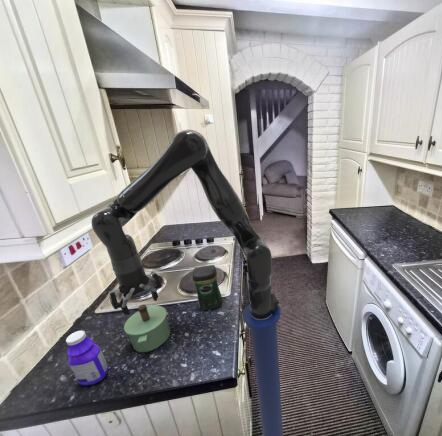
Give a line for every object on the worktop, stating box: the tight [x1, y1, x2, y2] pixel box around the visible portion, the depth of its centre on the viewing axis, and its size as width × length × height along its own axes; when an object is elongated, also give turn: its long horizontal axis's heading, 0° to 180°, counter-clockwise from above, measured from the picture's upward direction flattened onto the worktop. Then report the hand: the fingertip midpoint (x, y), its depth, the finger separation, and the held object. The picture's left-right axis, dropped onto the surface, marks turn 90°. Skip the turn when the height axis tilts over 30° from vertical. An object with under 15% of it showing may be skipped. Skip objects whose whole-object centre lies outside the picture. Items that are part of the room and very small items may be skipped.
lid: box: [123, 304, 168, 336], centre depth 80 cm, size 13×13×7 cm
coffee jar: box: [192, 264, 223, 311], centre depth 96 cm, size 10×8×19 cm
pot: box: [127, 304, 171, 353], centre depth 83 cm, size 12×17×8 cm
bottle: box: [65, 330, 109, 386], centre depth 68 cm, size 7×6×17 cm
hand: (142, 306), depth 79 cm, fingers open, 8 cm apart
